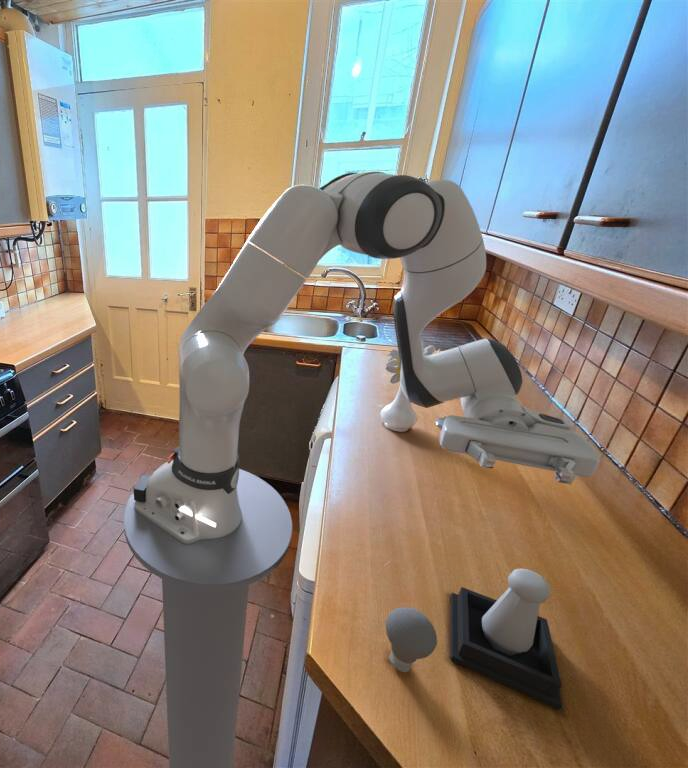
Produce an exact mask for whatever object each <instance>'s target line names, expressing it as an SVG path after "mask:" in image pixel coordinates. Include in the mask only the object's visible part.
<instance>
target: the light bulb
mask: <svg viewBox="0 0 688 768" xmlns="http://www.w3.org/2000/svg"><path fill="white" fill-rule="evenodd" d="M385 632H386V636H387V638H388V640H389V642H390V649H391V652H390V655H389V661H390V664H391V665H392V667H394V668H395V669H396V670H398V671H400V672H403V673H407V672H409V671H410V670H411V668H412V665H413V663H415V662H416V661H417V660H421V659H425V658H428V657H429V656H431V655H432V654H433V653H434V651H435V649H436V648H437V644H438V636H437V631H436V628H435V627H434V625H433V623H432V622H431V621H430V619H429V618H428V617H427V615H425V614H424V613H423V612H421V611H420V610H418V609H415V608H413V607H410V606H409V607H408V606H400V607H397V608H394V609H393V610H391V611H390V613H389V614H388V615H387V617H386V619H385Z"/></svg>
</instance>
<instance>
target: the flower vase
mask: <svg viewBox="0 0 688 768" xmlns="http://www.w3.org/2000/svg"><path fill="white" fill-rule="evenodd" d="M422 347H423V355H424V356H425V355H432V354H434V353H435V352H436V353H439V352H441V348H439V349H438V350H437V351H436V346H435V345H433V344H430V345H428V346H426V342H425V341H424V339H422ZM387 357H389V359H388V360H387V363H386V365H385V370H386V371H387V372H388V373H391V374H393V375H392V376H391V377H390V380H389V382H390V383H391V384H393V385H395V384H397V383H399V382H400V372H401V365H400V358H399V351H398V349H391V351H390V352H389V353H388V354H387ZM380 418H381V420H382V421H383V423H384V426H385V427H386V428H387V429H389V430H391V431H393V432H397V433H398V432H400V433H404V432H406V431H408V430H409V429H410V428H412V427H415V425H417V423H418V414H417V412H416V411H415V409H414V408H413V407H412V403H411V402H410V401H409V400H408V399H407V398H406V396H405V395H404V393H403V390H402V387H401V383H400V384H399V386H398V391H397V394H396V396H395V397H394V400H392V401H391V403H388V404H387V405H385V406H383V408H382V409H381V411H380Z"/></svg>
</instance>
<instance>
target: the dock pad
mask: <svg viewBox="0 0 688 768" xmlns="http://www.w3.org/2000/svg"><path fill="white" fill-rule="evenodd" d="M497 600H498V599H494V598H492V597H489V596H487V595H484V594H481V593H480V592H476V591H474V590H471V589H467V588H466V587H463V586H461V587H460V590H459V592H458V593H455V592H451V594H450V657H449V658H450V661H451V662H453V663H455V664H457V665H459V666H462V667H464V668H466V669H467V670H470V671H473V672H474V673H477V674H480V675H481V676H484V677H486V678H488V679H490V680H492V681H494V682H497V683H499V684H501V685H502V686H506V687H508V688H510V689H512V690H514V691H516V692H519V693H521V694H522V695H525V696H527V697H529V698H531V699H533V700H536V701H538V702H541V703H542V704H545V705H546V706H549V707H551V708H554V709H555V710H557V711H561V709H562V708H563V701H562V697H561V692H560V691H561V689H562V687H563V685H562V679H561V676H560V672H559V668H558V662H557V658H556V654H555V650H554V645H553V644H554V643H553V640H552V635H551V631H550V628H549V627H550V626H549V623H548V619H547V618H545V617H542V616H540V615H538V617H537V623H536V629H535V635H534V640H533V645H532V646H531V648H530V649H529V650H528V651H527V652H522V653H517V654H514V655H511V656H509V655H507V654H505V653H502V652H500V651H498V650H495V649H494V648H493V647H492V646H491V644H490V643H489V642H488V641H487V639H486V638H485V637H484V633H483V628H482V617H483V616H484V615H485V614H486V612H487V611H488V610H489V609H490V608H491V607H492V606H493V605H494V604H495V603H496V601H497Z"/></svg>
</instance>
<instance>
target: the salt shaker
mask: <svg viewBox="0 0 688 768" xmlns="http://www.w3.org/2000/svg"><path fill="white" fill-rule="evenodd" d="M507 581H508V583H507V584H508V588H507V589H506V590H505V592H503V594H502V595H501V596H500V597H499V598H498V599H496V600H497V601H496V603H495V604H494V605H493V606H492V607H491V608H490V609H489V610H488V611H487V612H486V614H485V615H484V616H483V617H482V628H483V633H484V637H485V638H486V639H487V641H488V642H489V643H490V644H491V646H492V647H493V648H494V649H495V650H498V651H500V652H502V653H505V654H507V655H509V656H511V655H514V654H517V653H522V652H527V651H528V650H529V649H530V648H531V646H532V645H533V640H534V635H535V629H536V623H537V617H538V616H539V611H540V606H541V605H540V604H543V603H546V601H548V599H549V598H550V596H551V595H552V588H551V585H550V584H549V582H547V580H546V579H545V578H544V577H543V576H542V575H540V574H539V573H538V572H535V571H533V570H530V569H526V568H516V569H513V571H511V573H510V574H509V575H508V577H507Z"/></svg>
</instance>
